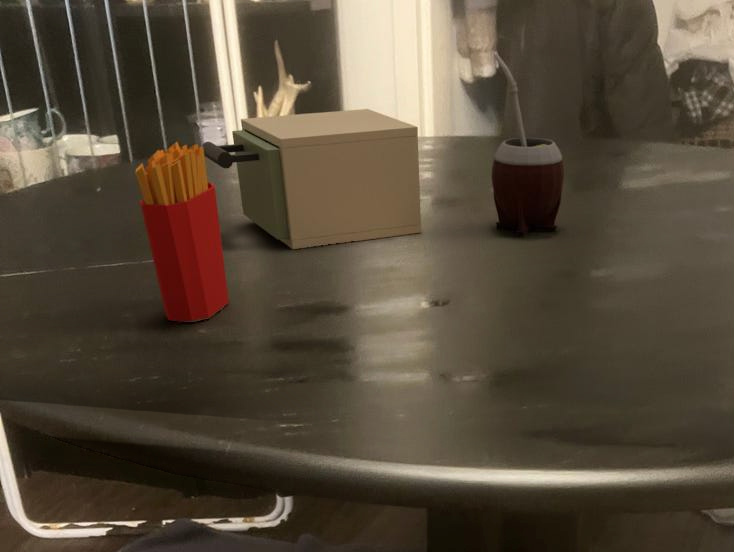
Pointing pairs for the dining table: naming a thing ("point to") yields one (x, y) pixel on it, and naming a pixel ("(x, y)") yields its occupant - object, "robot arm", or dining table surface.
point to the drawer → (256, 179)
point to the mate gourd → (526, 177)
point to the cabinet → (345, 175)
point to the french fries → (183, 232)
